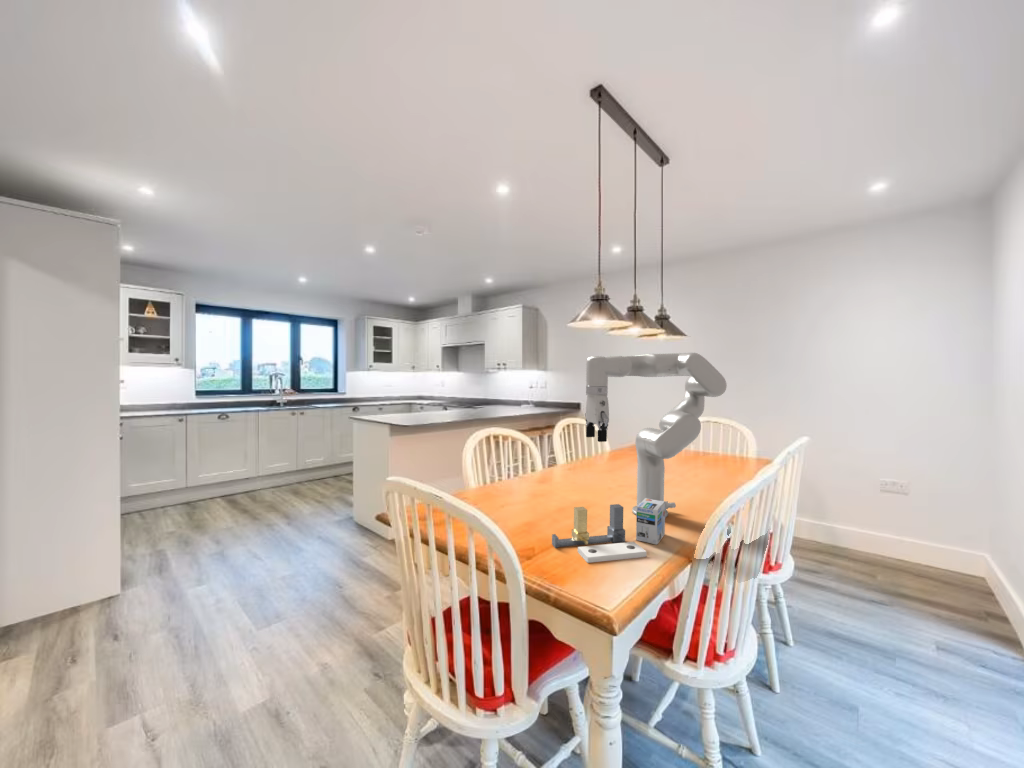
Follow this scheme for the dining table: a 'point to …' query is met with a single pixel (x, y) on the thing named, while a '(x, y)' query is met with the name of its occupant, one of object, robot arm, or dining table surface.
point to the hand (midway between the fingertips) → (596, 439)
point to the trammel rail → (613, 535)
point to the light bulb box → (650, 521)
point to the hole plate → (611, 552)
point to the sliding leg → (580, 525)
